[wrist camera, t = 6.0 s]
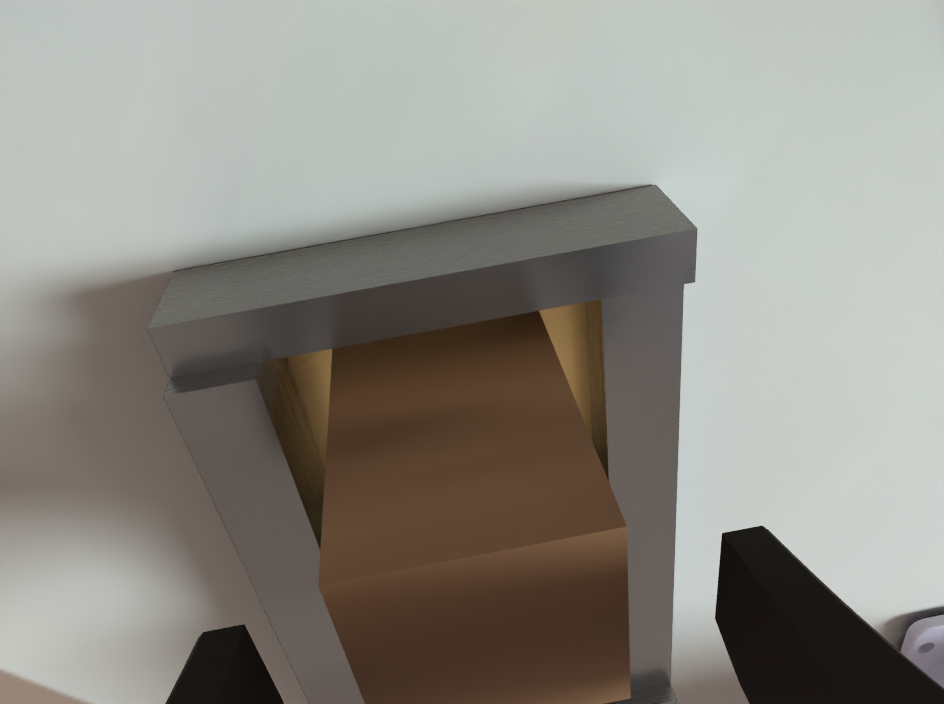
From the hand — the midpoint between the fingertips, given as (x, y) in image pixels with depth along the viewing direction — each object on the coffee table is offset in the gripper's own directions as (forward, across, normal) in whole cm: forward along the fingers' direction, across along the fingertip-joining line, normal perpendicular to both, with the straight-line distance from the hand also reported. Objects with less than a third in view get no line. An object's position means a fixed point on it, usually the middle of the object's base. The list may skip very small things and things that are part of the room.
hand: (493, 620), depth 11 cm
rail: (+6, 0, +3) cm, 7 cm away
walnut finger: (+5, 0, 0) cm, 5 cm away
